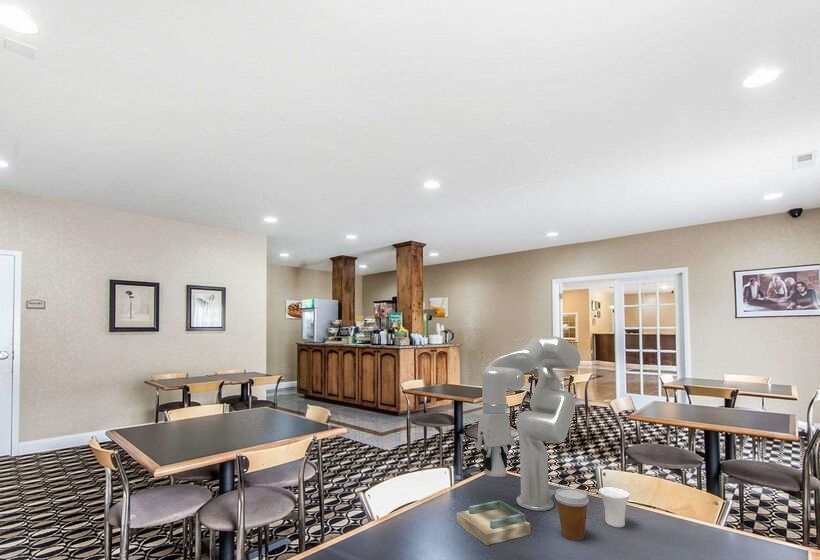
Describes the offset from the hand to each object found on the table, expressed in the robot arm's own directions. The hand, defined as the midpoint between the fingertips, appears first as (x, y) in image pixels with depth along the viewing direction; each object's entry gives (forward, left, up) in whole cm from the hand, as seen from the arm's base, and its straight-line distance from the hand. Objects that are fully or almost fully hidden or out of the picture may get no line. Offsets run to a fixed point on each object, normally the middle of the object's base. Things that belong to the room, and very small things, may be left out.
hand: (495, 467), depth 135 cm
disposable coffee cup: (-18, +14, -18) cm, 29 cm away
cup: (-36, +14, -18) cm, 42 cm away
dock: (+1, 0, -18) cm, 18 cm away
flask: (0, 0, -2) cm, 2 cm away
